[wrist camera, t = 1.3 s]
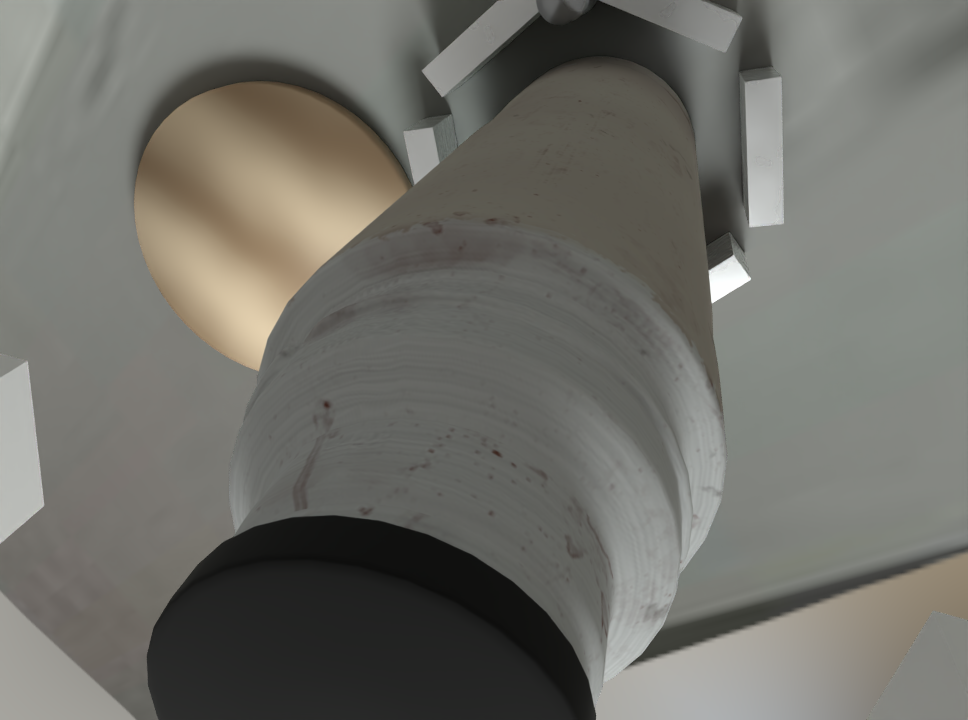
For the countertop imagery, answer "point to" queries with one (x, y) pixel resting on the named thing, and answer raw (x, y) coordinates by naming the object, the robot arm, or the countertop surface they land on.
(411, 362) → the thermos bottle
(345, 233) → the pad
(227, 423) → the countertop surface
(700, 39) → the collar
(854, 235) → the countertop surface
